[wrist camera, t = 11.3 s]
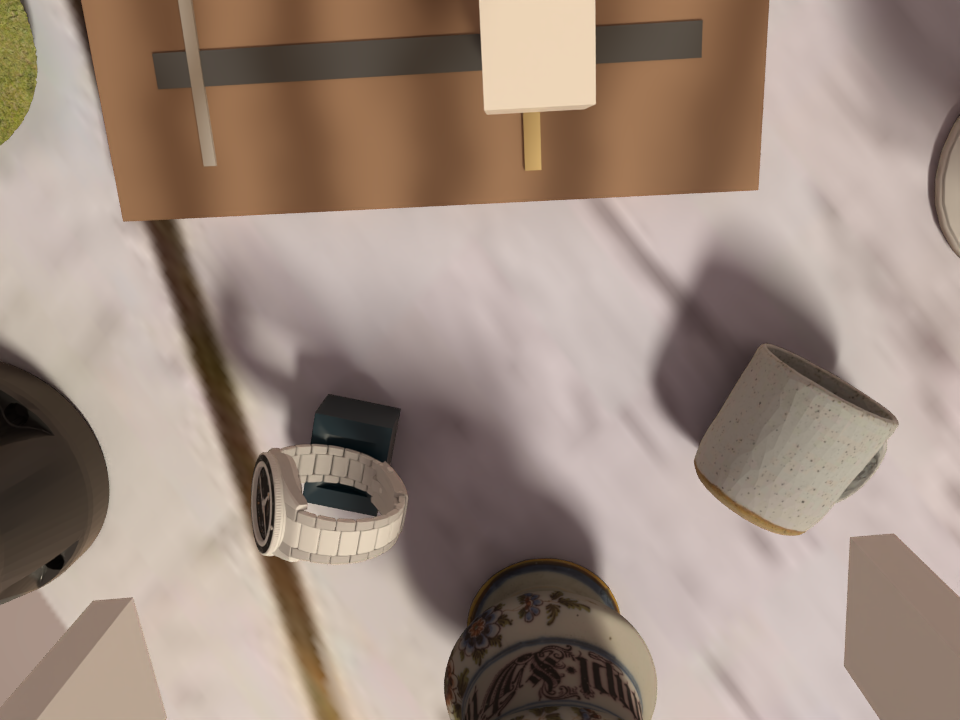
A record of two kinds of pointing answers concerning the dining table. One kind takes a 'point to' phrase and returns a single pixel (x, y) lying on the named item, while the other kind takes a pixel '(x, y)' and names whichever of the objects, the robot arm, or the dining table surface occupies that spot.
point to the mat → (15, 67)
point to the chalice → (949, 188)
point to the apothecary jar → (548, 651)
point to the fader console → (412, 106)
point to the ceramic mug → (791, 442)
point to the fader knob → (538, 55)
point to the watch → (332, 487)
